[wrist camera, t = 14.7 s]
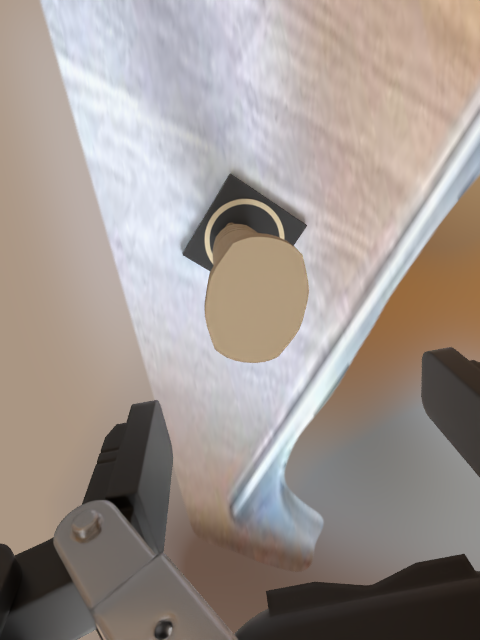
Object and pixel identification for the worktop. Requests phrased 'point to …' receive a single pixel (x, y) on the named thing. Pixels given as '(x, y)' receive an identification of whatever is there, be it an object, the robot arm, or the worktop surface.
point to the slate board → (240, 220)
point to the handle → (254, 294)
